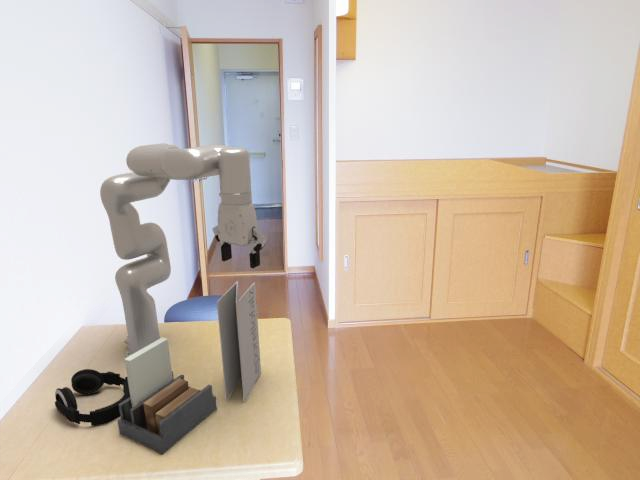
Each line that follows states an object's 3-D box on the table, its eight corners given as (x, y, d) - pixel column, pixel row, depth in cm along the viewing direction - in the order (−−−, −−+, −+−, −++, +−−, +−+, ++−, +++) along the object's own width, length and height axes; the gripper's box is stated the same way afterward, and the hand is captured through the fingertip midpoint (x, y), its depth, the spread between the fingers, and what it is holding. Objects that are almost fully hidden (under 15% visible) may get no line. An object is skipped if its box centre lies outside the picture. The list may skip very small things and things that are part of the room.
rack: (119, 433, 117) (114, 406, 115) (176, 392, 133) (172, 368, 130) (162, 454, 110) (158, 426, 108) (216, 408, 126) (214, 383, 123)
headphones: (82, 359, 136) (145, 372, 133) (84, 382, 138) (146, 395, 135) (36, 397, 119) (107, 412, 116) (39, 422, 122) (109, 438, 119)
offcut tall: (147, 433, 117) (143, 403, 114) (183, 406, 127) (179, 378, 124) (156, 437, 116) (151, 406, 113) (191, 410, 126) (187, 381, 123)
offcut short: (159, 438, 115) (155, 413, 113) (193, 411, 125) (191, 387, 123) (167, 443, 114) (164, 417, 112) (202, 414, 124) (199, 390, 122)
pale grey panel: (135, 427, 119) (124, 358, 113) (170, 401, 129) (162, 337, 123) (140, 430, 118) (129, 361, 112) (176, 403, 128) (167, 339, 122)
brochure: (244, 403, 128) (236, 303, 119) (225, 400, 129) (216, 301, 120) (261, 373, 141) (255, 282, 132) (243, 372, 142) (236, 281, 133)
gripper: (200, 197, 117) (206, 261, 122) (253, 205, 108) (257, 274, 113) (221, 192, 123) (226, 253, 128) (273, 199, 114) (276, 264, 119)
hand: (240, 263), depth 120 cm, fingers open, 9 cm apart
